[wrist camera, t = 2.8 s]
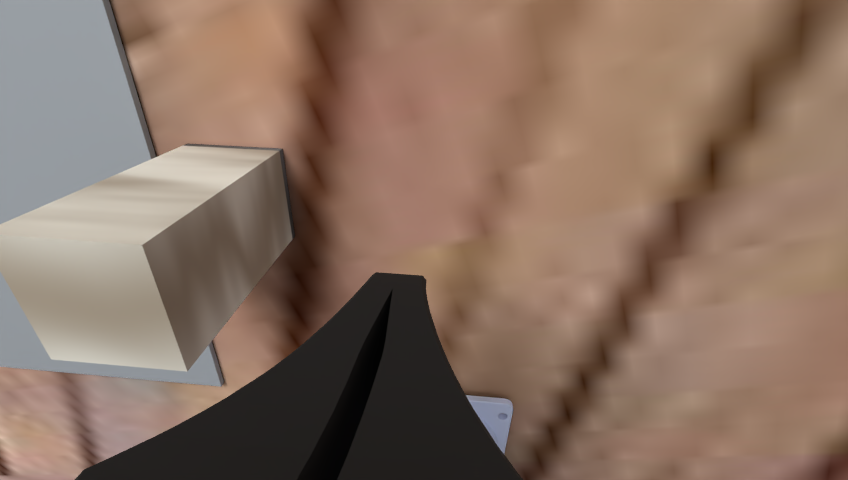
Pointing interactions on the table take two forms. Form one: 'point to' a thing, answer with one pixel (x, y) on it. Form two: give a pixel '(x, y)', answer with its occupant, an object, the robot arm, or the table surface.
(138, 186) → the birch block
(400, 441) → the robot arm
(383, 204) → the table surface
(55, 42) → the mat
